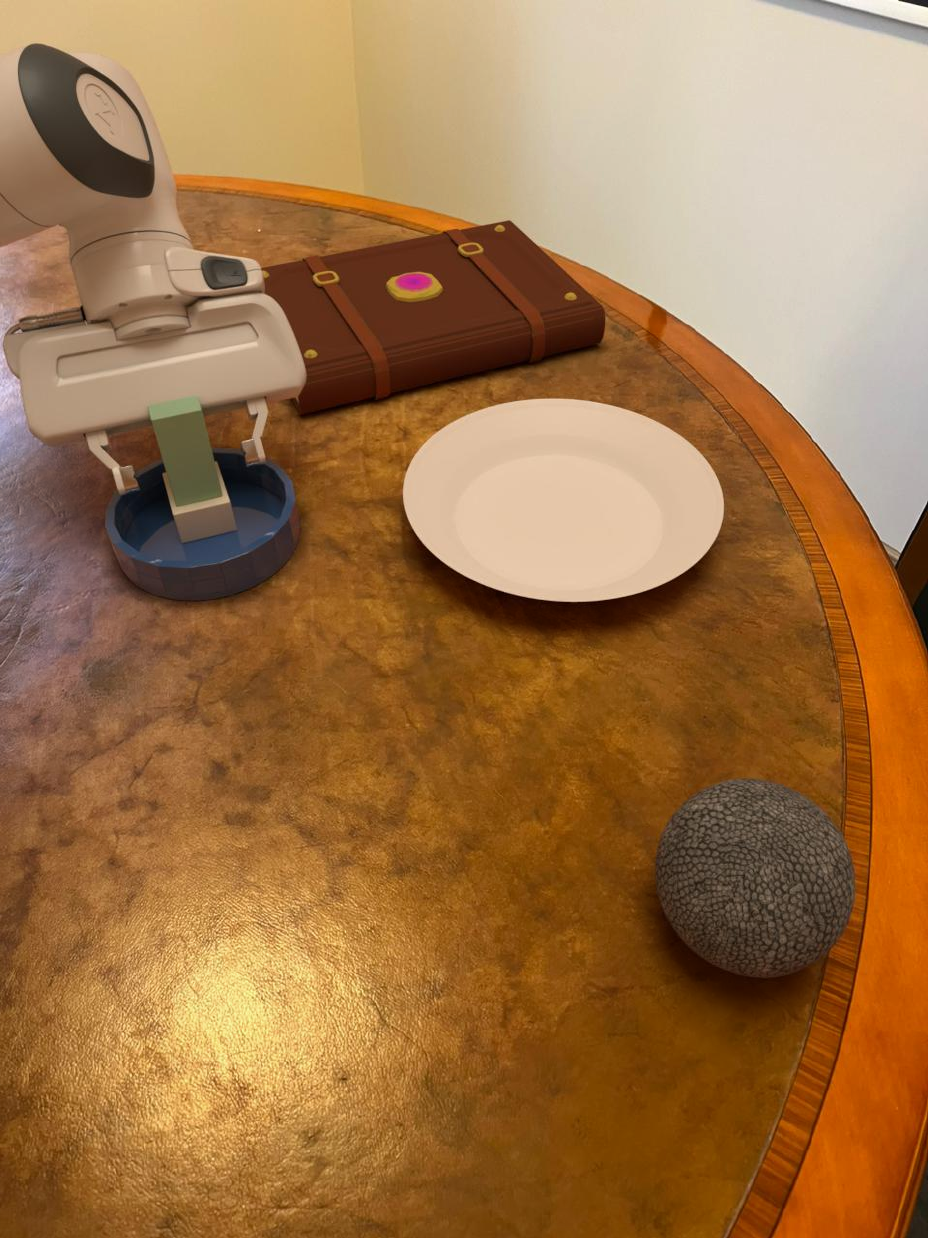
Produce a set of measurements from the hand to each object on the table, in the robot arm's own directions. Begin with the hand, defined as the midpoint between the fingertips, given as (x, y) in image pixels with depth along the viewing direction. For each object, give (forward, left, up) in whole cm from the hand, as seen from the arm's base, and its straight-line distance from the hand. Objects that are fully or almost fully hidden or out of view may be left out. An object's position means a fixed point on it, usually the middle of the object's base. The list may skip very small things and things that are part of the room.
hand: (194, 478), depth 70 cm
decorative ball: (+14, -45, -7) cm, 48 cm away
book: (+30, +21, -7) cm, 37 cm away
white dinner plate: (+25, -12, -7) cm, 29 cm away
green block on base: (0, +3, -6) cm, 6 cm away
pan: (0, +1, -6) cm, 6 cm away
